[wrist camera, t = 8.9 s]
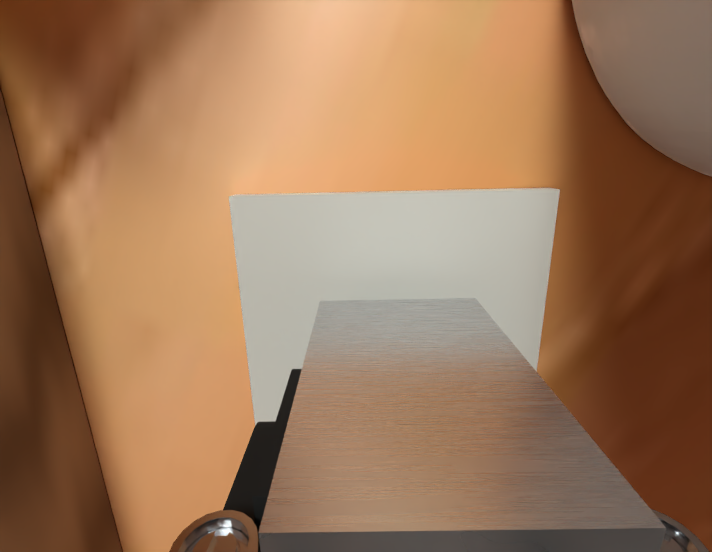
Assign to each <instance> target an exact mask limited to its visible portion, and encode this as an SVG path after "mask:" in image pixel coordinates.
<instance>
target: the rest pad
mask: <svg viewBox="0 0 712 552" xmlns="http://www.w3.org/2000/svg"><path fill="white" fill-rule="evenodd" d="M559 193H560V189H555V188H512V189H466V190H420V191H374V192H328V193H282V194H236V195H232V196H229V203H230V212H231V220H232V229H233V238H234V246H235V255H236V264H237V272H238V281H239V289H240V298H241V307H242V315H243V324H244V333H245V341H246V350H247V359H248V367H249V376H250V385H251V393H252V402H253V411H254V419H255V426H256V424H257V423H258V422H268V421H276V418H277V415H278V412H279V409H280V405H281V402H282V399H283V396H284V392H285V389H286V386H287V383H288V380H289V376H290V373H291V370H292V369H302V366H303V363H304V359H305V355H306V351H307V348H308V344H309V340H310V336H311V333H312V329H313V325H314V321H315V317H316V314H317V310H318V306H319V302H320V301H344V300H398V299H451V298H476V299H477V301H478V302H479V303H480V304H481V305H482V307H483V308H484V309H485V310H486V311H487V313H488V314H489V315H490V316H491V317H492V319H493V320H494V321H495V322H496V324H497V325H498V326H499V327H500V328H501V330H502V331H503V332H504V333H505V334H506V336H507V337H508V338H509V339H510V340H511V342H512V343H513V344H514V345H515V346H516V348H517V349H518V350H519V351H520V352H521V354H522V355H523V356H524V357H525V358H526V360H527V361H528V362H529V363H530V364H531V366H532V367H533V368H534V369H535V371H536V372H537V364H538V356H539V348H540V341H541V333H542V325H543V317H544V310H545V302H546V294H547V286H548V278H549V271H550V263H551V255H552V247H553V240H554V232H555V224H556V216H557V208H558V201H559Z"/></svg>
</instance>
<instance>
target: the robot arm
mask: <svg viewBox="0 0 712 552" xmlns="http://www.w3.org/2000/svg"><path fill="white" fill-rule="evenodd" d="M301 370H302V369H292V370H291V373H290V376H289V380H288V383H287V386H286V389H285V392H284V396H283V399H282V402H281V405H280V409H279V412H278V415H277V418H276V421H268V422H258V423H257V424H256V426H255V428H254V431H253V433H252V436H251V438H250V441H249V444H248V446H247V449H246V452H245V454H244V457H243V459H242V462H241V465H240V467H239V470H238V472H237V475H236V478H235V480H234V483H233V486H232V488H231V491H230V493H229V496H228V499H227V501H226V504H225V507H224V509H223V510H220V511H216V512H213V513H210V514H207V515H205V516H203V517H201V518H199V519H197V520H195V521H194V522H193V523H191V524H190V525H189V526H188V527H187V528H185V529H184V530H183V531H182V532H181V534H180V535H179V536H178V537H177V539H176V540H175V541H174V543H173V545H172V547H171V549H170V551H169V552H261V550H260V542H259V534H258V532H259V529H260V525H261V521H262V517H263V514H264V510H265V506H266V502H267V498H268V495H269V491H270V487H271V483H272V480H273V476H274V472H275V468H276V465H277V461H278V457H279V453H280V449H281V446H282V442H283V438H284V434H285V431H286V427H287V423H288V419H289V415H290V412H291V408H292V404H293V400H294V397H295V393H296V389H297V385H298V382H299V378H300V374H301ZM651 510H652V511H653V513H654V514H655V515H656V516H657V518H658V519H659V520H660V521H661V522H662V524H663V525H664V526H665V527H666V530H665V534H664V538H663V541H662V545H661V549H660V552H709V551H708V549H707V548H706V547H705V546H704V544H703V543H702V542H701V541H700V540H699V539H698V537H697V536H695V535H694V534H693V533H692V532H691V531H689V530H688V529H687V528H686V527H685V526H683V525H682V524H680V523H679V522H677V521H675V520H674V519H672V518H670V517H669V516H667V515H665V514H662V513H660V512H658V511H655V510H653V509H651Z"/></svg>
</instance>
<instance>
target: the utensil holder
mask: <svg viewBox="0 0 712 552" xmlns="http://www.w3.org/2000/svg"><path fill="white" fill-rule="evenodd" d="M572 5H573V10H574V15H575V20H576V23H577V27H578V31H579V34H580V38H581V41H582V44H583V47H584V50H585V53H586V56H587V58H588V60H589V62H590V65H591V67H592V69H593V71H594V74H595V76H596V78H597V80H598V82H599V84H600V86H601V87H602V89H603V91H604V93H605V94H606V96H607V97H608V99H609V100H610V102H611V103H612V105H613V106H614V108H615V109H616V110H617V112H618V113H619V114H620V116H621V117H622V118H623V120H624V121H625V122H626V124H627V125H628V126H629V127H630V128H631V129H632V130H634V131H635V132H636V133H637V134H638V135H639V136H640V137H641V138H642V139H643V140H644V141H646V142H647V143H648V144H649V145H651V146H652V147H653V148H655V149H656V150H658V151H659V152H661V153H663V154H664V155H666V156H667V157H669V158H671V159H672V160H674V161H676V162H678V163H680V164H682V165H684V166H686V167H688V168H690V169H693V170H695V171H698V172H700V173H702V174H705V175H708V176H711V177H712V0H572Z"/></svg>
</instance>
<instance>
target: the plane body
mask: <svg viewBox="0 0 712 552" xmlns="http://www.w3.org/2000/svg"><path fill="white" fill-rule="evenodd" d="M0 552H122V549H121V545H120V541H119V537H118V534H117V530H116V526H115V522H114V519H113V515H112V511H111V507H110V503H109V500H108V496H107V492H106V488H105V484H104V481H103V477H102V473H101V469H100V465H99V462H98V458H97V454H96V450H95V446H94V443H93V439H92V435H91V431H90V427H89V424H88V420H87V416H86V412H85V408H84V405H83V401H82V397H81V393H80V389H79V386H78V382H77V378H76V374H75V370H74V367H73V363H72V359H71V355H70V352H69V348H68V344H67V340H66V336H65V333H64V329H63V325H62V321H61V317H60V314H59V310H58V306H57V302H56V298H55V295H54V291H53V287H52V283H51V279H50V276H49V272H48V268H47V264H46V260H45V257H44V253H43V249H42V245H41V241H40V238H39V234H38V230H37V226H36V222H35V219H34V215H33V211H32V207H31V204H30V200H29V196H28V192H27V188H26V185H25V181H24V177H23V173H22V169H21V166H20V162H19V158H18V154H17V150H16V147H15V143H14V139H13V135H12V131H11V128H10V124H9V120H8V116H7V112H6V109H5V105H4V101H3V97H2V93H1V90H0Z"/></svg>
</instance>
